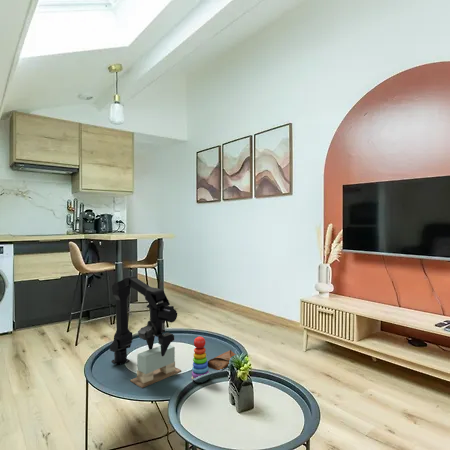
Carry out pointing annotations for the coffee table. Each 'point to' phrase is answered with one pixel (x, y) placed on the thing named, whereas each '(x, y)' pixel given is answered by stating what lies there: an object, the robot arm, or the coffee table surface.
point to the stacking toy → (199, 358)
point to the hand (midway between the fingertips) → (156, 353)
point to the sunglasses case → (220, 361)
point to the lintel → (155, 359)
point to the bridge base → (155, 375)
